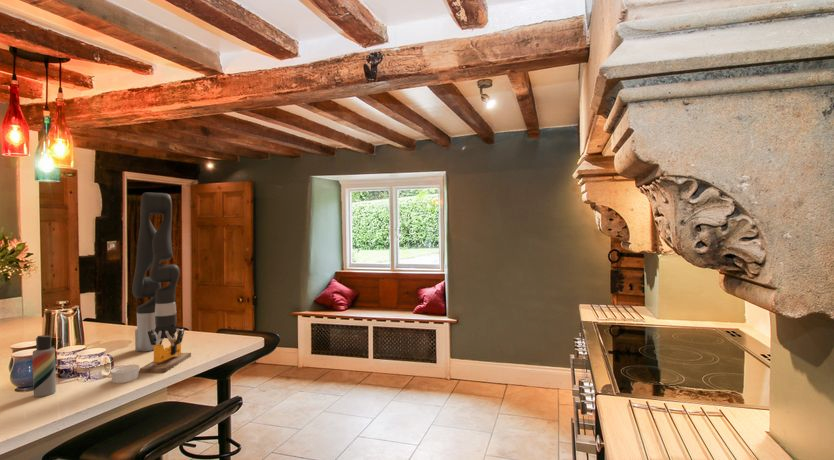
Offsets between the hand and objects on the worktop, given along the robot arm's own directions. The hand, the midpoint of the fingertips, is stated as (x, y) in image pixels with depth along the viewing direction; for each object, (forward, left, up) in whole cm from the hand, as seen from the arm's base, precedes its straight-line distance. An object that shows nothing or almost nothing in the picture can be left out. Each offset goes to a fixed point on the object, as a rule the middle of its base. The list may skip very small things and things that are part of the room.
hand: (166, 354), depth 174 cm
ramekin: (-6, -17, -4) cm, 18 cm away
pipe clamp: (0, 0, -1) cm, 1 cm away
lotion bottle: (-25, -29, -4) cm, 39 cm away
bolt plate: (0, 0, -4) cm, 4 cm away
